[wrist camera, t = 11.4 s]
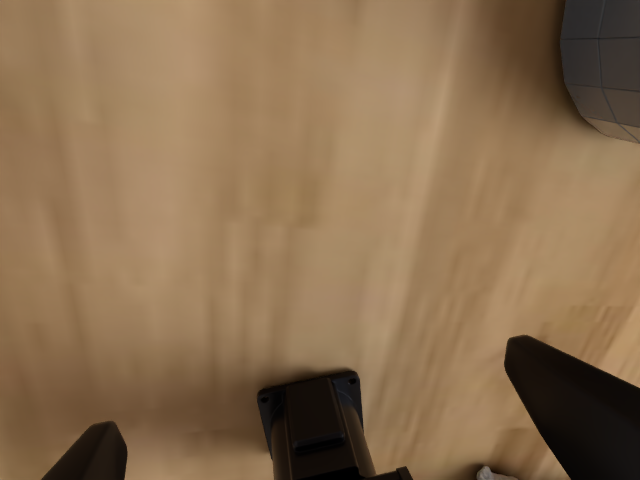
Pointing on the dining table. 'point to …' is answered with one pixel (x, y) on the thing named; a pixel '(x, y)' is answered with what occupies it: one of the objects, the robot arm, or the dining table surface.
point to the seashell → (492, 475)
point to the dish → (604, 64)
